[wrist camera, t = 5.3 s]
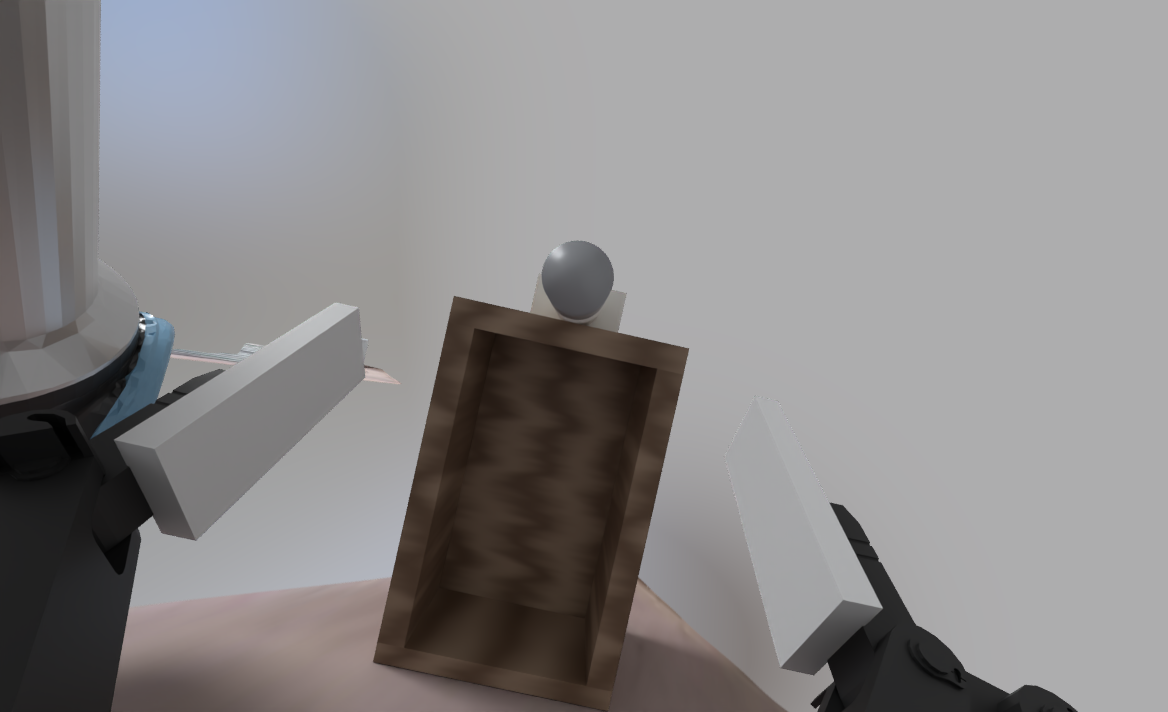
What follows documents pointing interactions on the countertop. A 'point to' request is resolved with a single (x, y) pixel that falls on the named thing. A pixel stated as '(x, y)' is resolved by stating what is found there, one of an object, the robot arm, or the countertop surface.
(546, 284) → the knob
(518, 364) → the open wooden box
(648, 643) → the countertop surface
